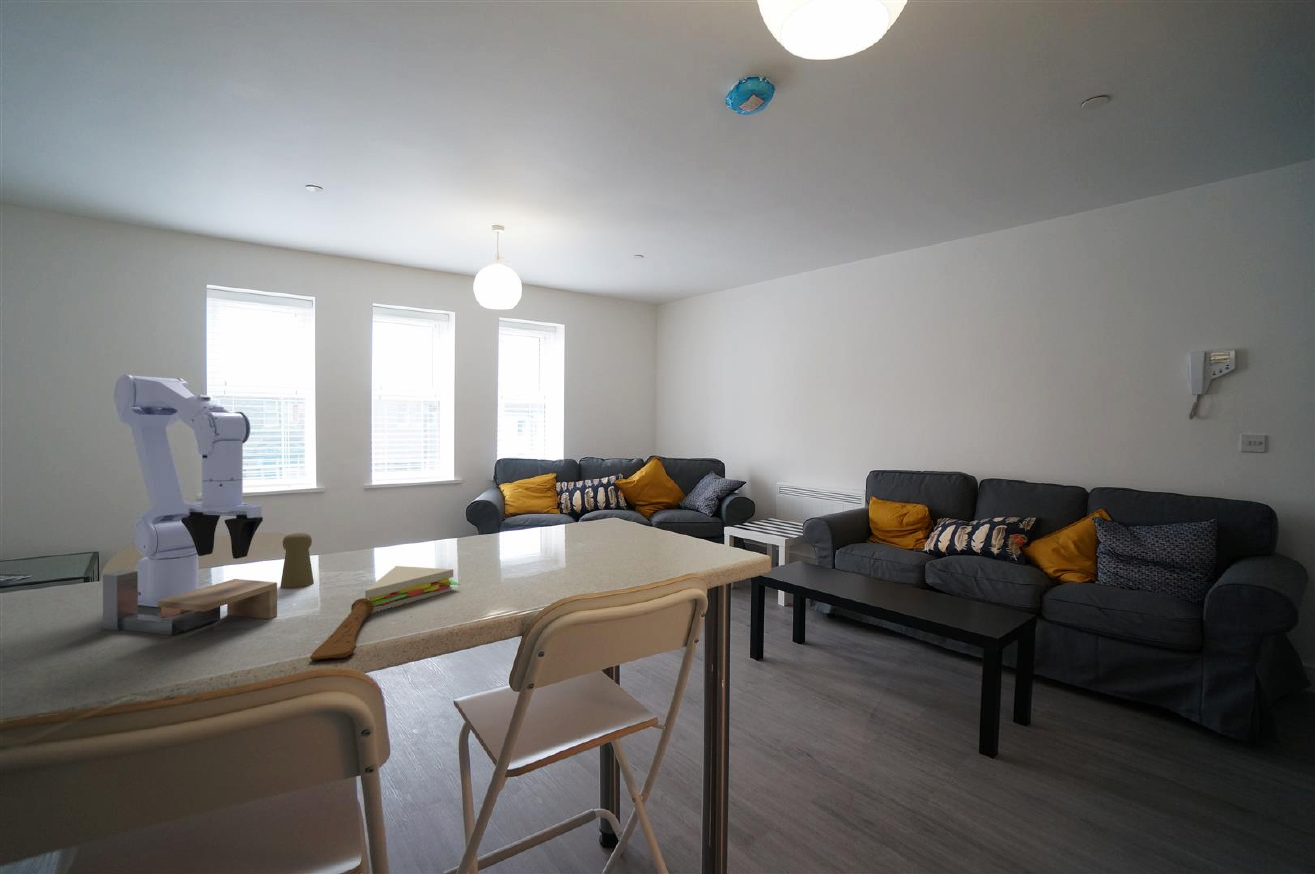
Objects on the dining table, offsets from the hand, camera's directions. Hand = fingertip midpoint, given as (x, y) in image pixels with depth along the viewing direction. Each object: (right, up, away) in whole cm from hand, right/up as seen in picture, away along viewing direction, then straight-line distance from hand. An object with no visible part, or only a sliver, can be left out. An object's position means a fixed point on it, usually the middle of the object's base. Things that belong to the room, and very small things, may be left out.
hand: (222, 556), depth 100 cm
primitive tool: (+23, -9, -13) cm, 28 cm away
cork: (+2, -10, +18) cm, 21 cm away
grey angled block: (-6, -10, -5) cm, 13 cm away
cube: (-3, -11, -4) cm, 12 cm away
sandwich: (+26, -11, +10) cm, 30 cm away
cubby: (+4, -11, -6) cm, 13 cm away
